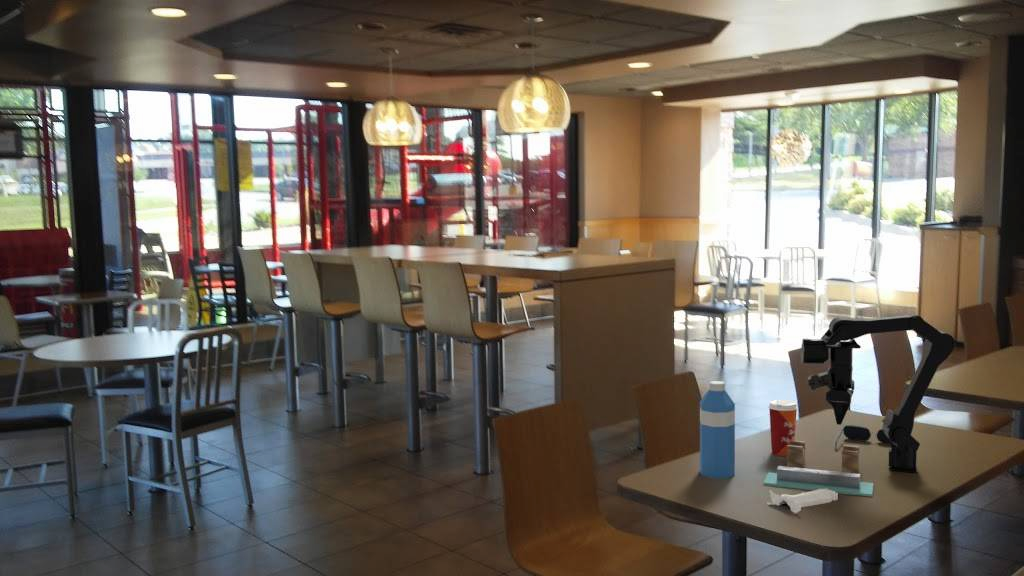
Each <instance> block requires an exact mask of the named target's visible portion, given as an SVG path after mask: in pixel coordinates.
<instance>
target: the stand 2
mask: <svg viewBox="0 0 1024 576" xmlns="http://www.w3.org/2000/svg"><path fill="white" fill-rule="evenodd" d="M841 472H845V473H855V474H860V446H857V445H849V444H848V445H846V444H843V447H842V449H841Z"/></svg>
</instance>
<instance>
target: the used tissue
mask: <svg viewBox="0 0 1024 576" xmlns="http://www.w3.org/2000/svg"><path fill="white" fill-rule="evenodd" d="M769 494H770V499H771V501H772V502H766V504H767V505H768V506H771V505H772V506H775V505H777V506H781V505H783V504H787V506H789V508H790V511H791V512H792V514H798V513H799V512H801V511H802V508H806V507H810V506H811V507H812V506H817V505H818V506H819V505H822V504H829V503H831V502H832V501H838V499H839V498H838V497H839V496H838V495H839V493H835V491H831V490H828V489H826V488H825V489H817V490H809V491H806V492H804V491H802V492H801V493H798V494H787V493H785V494H781V495H780V494H777V493H775V492H773V491H772V490H771V489H769Z"/></svg>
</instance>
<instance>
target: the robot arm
mask: <svg viewBox="0 0 1024 576" xmlns="http://www.w3.org/2000/svg"><path fill="white" fill-rule="evenodd" d="M902 331H903V332H906V331H913V332H915V333H916V334H917V335H918V336H920V338H921V339H923V340H924V341H923V342H924V343H923V346H922V354H921V359H920V362H919V364H918V366H917V367H916V371H915V372H914V374H913V375H912V378H911V380H910V382H909V383H908V386H907V388H906V390H905V392H904V394H903V396H902V399H901V400H900V402H899V404H898V405H897V407H896V408H895V409H894V410H892V409H890V408H888V409H887V411H886V414H885V416H884V417H883V419H882V420H881V422H882V427H881V429H883V431H884V433H885V434H886V435H887V437H888V438H889V439H890V440H891V442H893V444H890V449H888V466H889V467H890V468H889V470H890V471H895V472H905V473H912V474H913V473H914V474H915V473H918V468H917V467H918V466H917V454H918V453H917V451H918V450H919V447H920V446H921V444H920V442H919V441H918V440H917V439H916V438H914V436H913V435H912V432H913V429H914V425H915V416H916V415H915V414H916V413H917V411H918V408H919V406H920V404H921V402H922V400H923V399H924V397H925V395H926V393H927V390H928V388H929V386H930V384H931V383H932V381H933V379H934V376H935V374H936V372H937V370H938V368H939V367H940V366H941V365H942V364H943V363H945V361H946V360H948V358H949V357H950V356H951V354H952V353H953V352H954V350H955V349H956V347H957V346H956V345H957V344H956V343H957V342H956V341H955V338H954V337H953V336H952V335H951V334H949V333H948V332H945V331H943V330H941V329H940V330H939V329H937V328H935V327H934V326H932V324H930V323H928V322H927V321H926V320H925V319H924V318H923V317H922V316H920V315H918V314H916V313H909V314H907V315H895V316H885V317H873V318H858V317H857V318H856V317H855V318H854V317H848V316H846V317H845V316H836V317H834V318H832V319H831V321H830V322H829V324H828V329H827V330H826V332H825V333H824V334H823V335H822V337H821V338H820V339H819V338H817V339H816V338H815V339H810V338H803V339H802V340H801V341H802V342H801V348H800V361H801V364H805V365H808V364H809V365H817V364H818V365H824V364H825V362H827V361H828V360H829V367H828V369H827V371H824V372H820V373H816V374H812V375H809V376H808V377H807V379H806V380H807V383H808V386H809V388H810V390H811V391H813V390H816V389H819V388H822V387H826V386H827V388H828V390H826V391H825V392H826V393H825V401H826V402H827V403H828V404H829V405H831V407H832V409H833V413H834V416H835V417H834V419H835V422H836V425H839V426H840V425H842V423H843V422H844V419H845V416H846V414H847V412H848V410H849V407H850V405H851V403H852V397H853V394H854V391H855V381H854V380H853V369H854V368H853V367H854V366H853V349H861V348H862V347H861V345H860V344H859V343H858V342H857V341H856V339H858V338H860V337H863V336H866V335H869V334H870V335H871V334H872V335H873V334H882V333H883V334H884V333H893V332H894V333H895V332H902Z"/></svg>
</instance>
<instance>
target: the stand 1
mask: <svg viewBox="0 0 1024 576" xmlns="http://www.w3.org/2000/svg"><path fill="white" fill-rule="evenodd" d="M805 464H806V442H805V440H804V441H800V440H795V441H792V440H790V441H789V445H787V456H786V467H795V468H805Z"/></svg>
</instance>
